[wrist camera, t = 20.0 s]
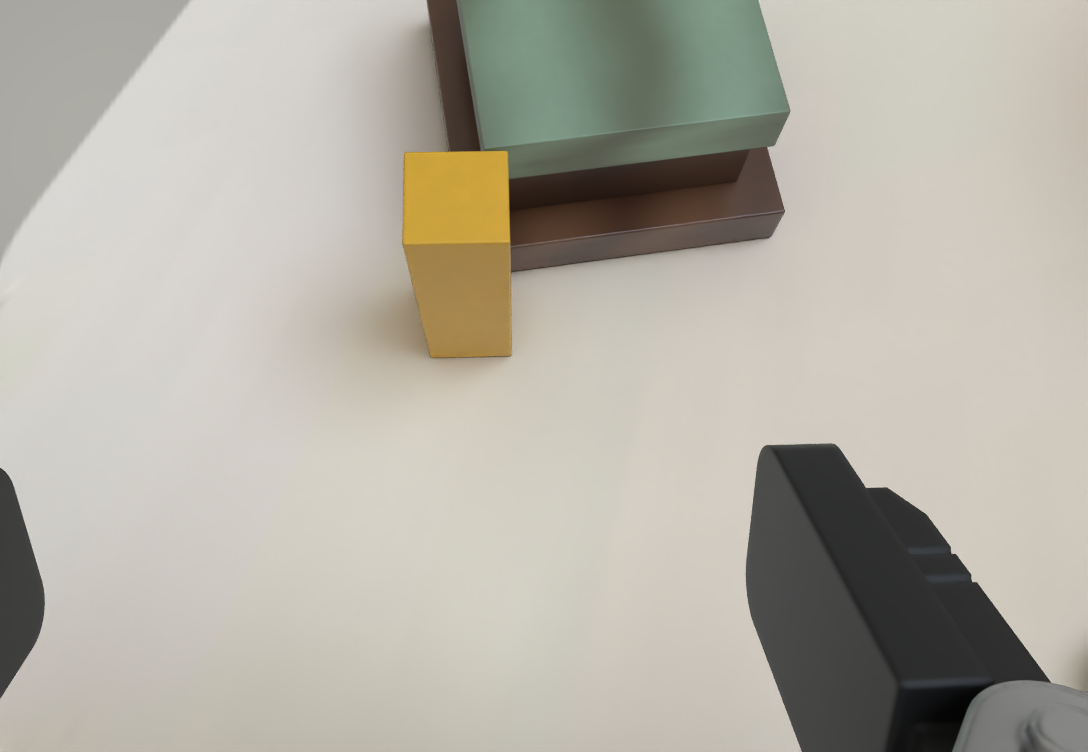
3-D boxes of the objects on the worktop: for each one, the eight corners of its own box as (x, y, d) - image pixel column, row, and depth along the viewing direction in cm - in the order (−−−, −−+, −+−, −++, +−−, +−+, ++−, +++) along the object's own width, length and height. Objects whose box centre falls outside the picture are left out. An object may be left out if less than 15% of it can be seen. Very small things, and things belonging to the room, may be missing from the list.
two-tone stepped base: (467, 278, 35) (456, 180, 29) (429, 23, 39) (411, -115, 33) (771, 237, 36) (829, 134, 30) (705, -8, 40) (742, -148, 34)
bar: (430, 358, 34) (402, 244, 26) (430, 284, 35) (403, 151, 27) (511, 356, 34) (510, 242, 26) (510, 282, 35) (508, 149, 27)
